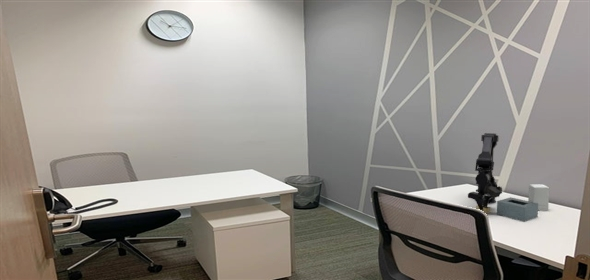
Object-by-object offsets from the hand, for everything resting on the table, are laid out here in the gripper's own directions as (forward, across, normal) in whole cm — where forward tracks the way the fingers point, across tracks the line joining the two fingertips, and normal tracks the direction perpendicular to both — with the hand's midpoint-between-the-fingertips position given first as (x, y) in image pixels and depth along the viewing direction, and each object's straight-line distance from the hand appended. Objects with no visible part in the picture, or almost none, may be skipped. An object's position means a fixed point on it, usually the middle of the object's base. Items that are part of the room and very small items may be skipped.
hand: (483, 209), depth 203 cm
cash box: (+1, +7, -14) cm, 16 cm away
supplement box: (+1, +27, -14) cm, 30 cm away
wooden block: (+1, 0, 0) cm, 1 cm away
